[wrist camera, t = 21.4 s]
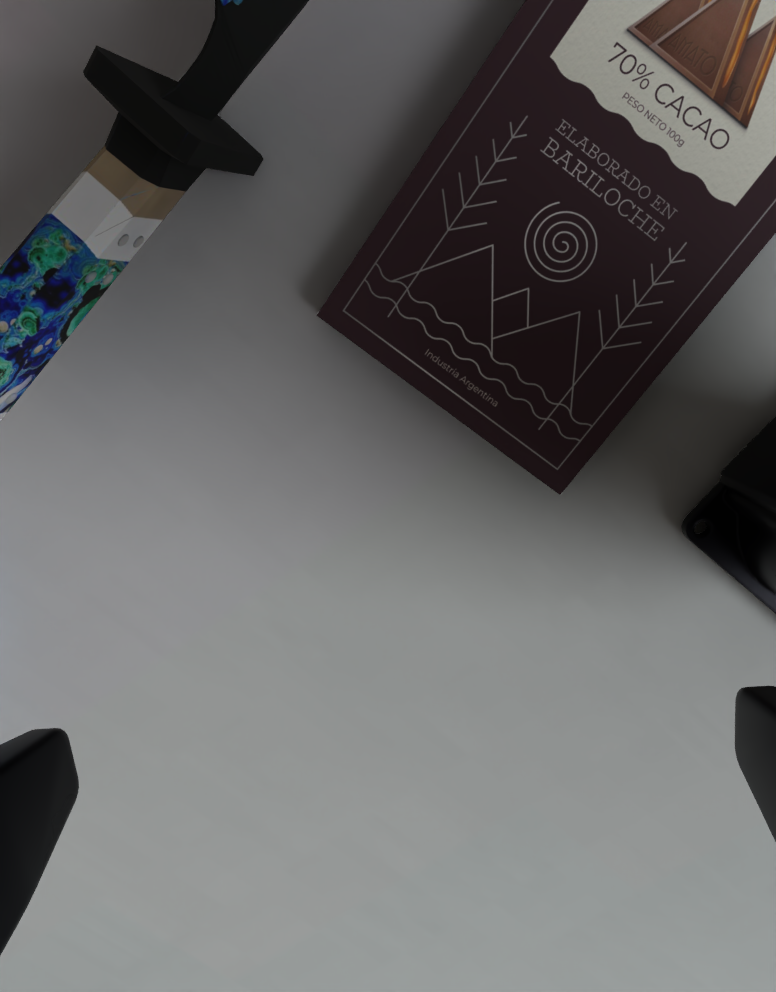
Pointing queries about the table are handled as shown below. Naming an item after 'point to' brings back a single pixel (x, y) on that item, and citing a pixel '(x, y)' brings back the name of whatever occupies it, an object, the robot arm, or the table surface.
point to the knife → (129, 183)
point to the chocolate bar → (574, 220)
